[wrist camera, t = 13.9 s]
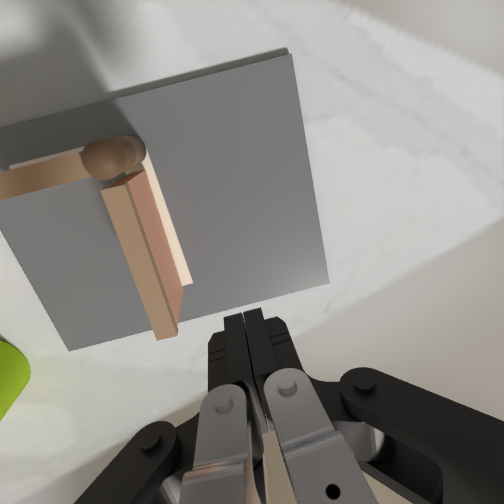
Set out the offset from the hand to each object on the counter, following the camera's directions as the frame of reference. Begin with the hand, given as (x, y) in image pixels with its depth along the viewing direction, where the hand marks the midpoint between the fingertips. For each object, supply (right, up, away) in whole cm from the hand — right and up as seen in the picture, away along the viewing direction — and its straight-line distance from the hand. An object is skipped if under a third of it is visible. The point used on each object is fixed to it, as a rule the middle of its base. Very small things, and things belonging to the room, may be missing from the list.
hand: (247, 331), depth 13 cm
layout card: (-6, +5, +10) cm, 13 cm away
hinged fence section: (-6, +4, +10) cm, 12 cm away
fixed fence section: (-11, +9, +8) cm, 16 cm away
